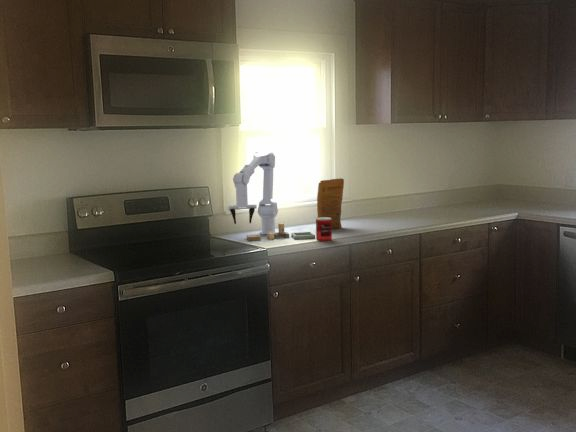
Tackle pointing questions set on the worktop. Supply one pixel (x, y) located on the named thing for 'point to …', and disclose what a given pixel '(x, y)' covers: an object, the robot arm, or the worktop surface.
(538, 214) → the worktop surface
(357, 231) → the worktop surface
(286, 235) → the socket block
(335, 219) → the pancake mix bag
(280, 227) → the dowel
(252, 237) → the brown wooden board
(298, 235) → the tray
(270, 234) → the block
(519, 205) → the worktop surface
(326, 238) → the canned food
